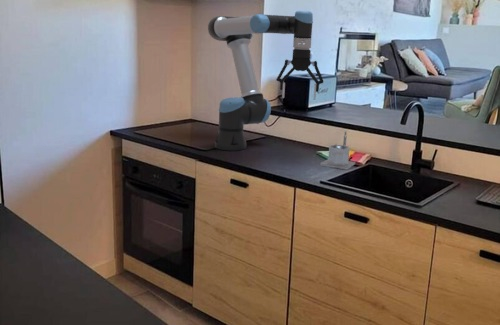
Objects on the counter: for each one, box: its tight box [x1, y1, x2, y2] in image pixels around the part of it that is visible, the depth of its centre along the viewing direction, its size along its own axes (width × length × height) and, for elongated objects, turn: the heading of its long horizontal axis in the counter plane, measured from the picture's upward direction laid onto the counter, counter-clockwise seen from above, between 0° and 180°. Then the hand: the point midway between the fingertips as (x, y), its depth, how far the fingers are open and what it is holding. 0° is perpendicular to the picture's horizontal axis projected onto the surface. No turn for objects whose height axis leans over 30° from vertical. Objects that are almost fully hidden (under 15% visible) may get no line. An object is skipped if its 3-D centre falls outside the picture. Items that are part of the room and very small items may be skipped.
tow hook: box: [342, 130, 347, 146], centre depth 238 cm, size 8×13×9 cm
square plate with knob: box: [319, 148, 356, 170], centre depth 225 cm, size 12×12×7 cm
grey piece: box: [327, 144, 350, 166], centre depth 223 cm, size 11×8×7 cm
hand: (298, 98), depth 228 cm, fingers open, 13 cm apart
